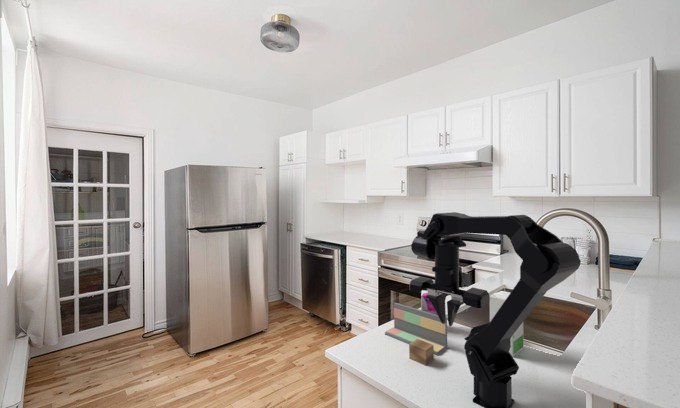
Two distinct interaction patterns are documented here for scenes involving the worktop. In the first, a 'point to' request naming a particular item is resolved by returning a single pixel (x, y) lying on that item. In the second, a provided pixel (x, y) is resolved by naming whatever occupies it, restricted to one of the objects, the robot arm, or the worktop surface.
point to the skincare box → (517, 337)
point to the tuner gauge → (418, 327)
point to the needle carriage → (421, 351)
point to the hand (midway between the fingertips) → (447, 324)
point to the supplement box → (426, 303)
